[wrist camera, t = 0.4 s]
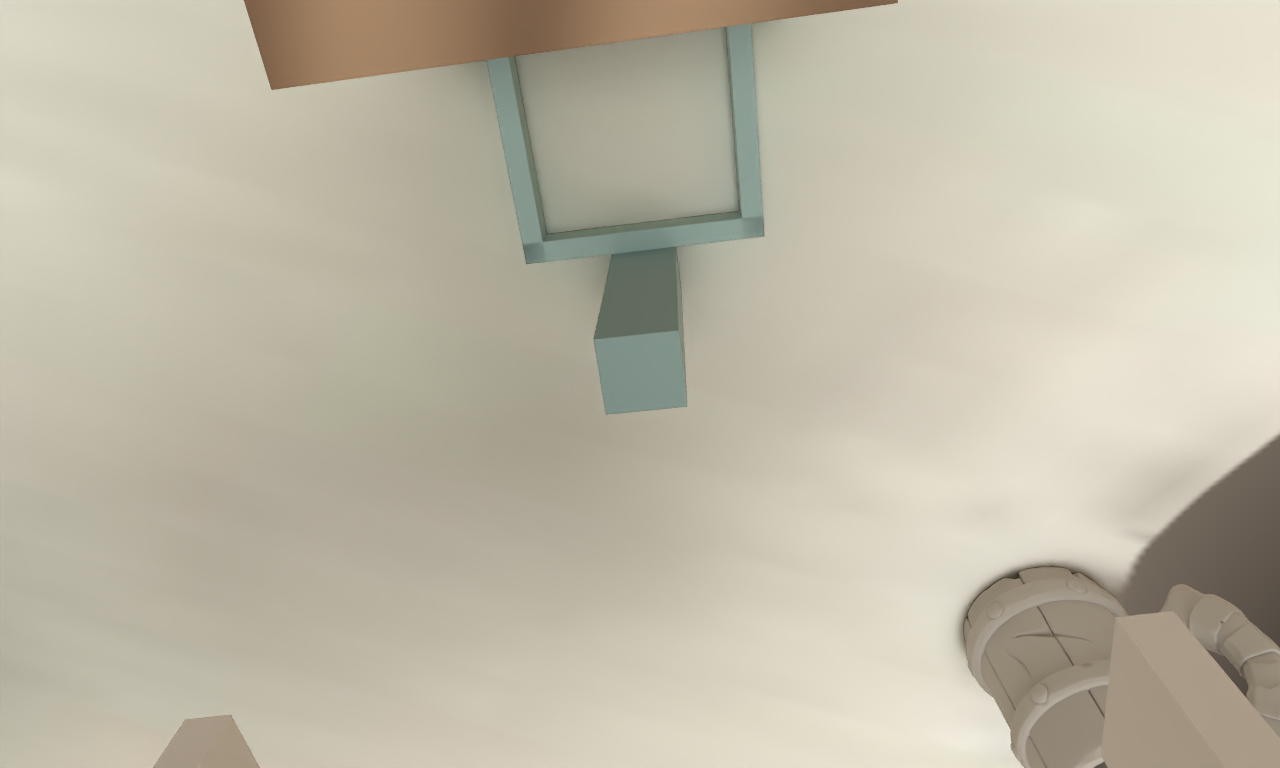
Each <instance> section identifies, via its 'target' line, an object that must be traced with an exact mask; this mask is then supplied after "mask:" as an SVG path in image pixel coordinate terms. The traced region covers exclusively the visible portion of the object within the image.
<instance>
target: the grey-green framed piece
mask: <svg viewBox="0 0 1280 768" xmlns="http://www.w3.org/2000/svg"><path fill="white" fill-rule="evenodd" d="M726 36H727V49H728V63H729V76H730V90H731V103H732V117H733V130H734V143H735V157H736V170H737V184H738V197H739V211H736V212H728V213H719V214H711V215H703V216H694V217H686V218H677V219H669V220H661V221H652V222H644V223H635V224H627V225H619V226H610V227H602V228H594V229H585V230H577V231H568V232H560V233H552V234H547V233H546V227H545V222H544V216H543V211H542V205H541V200H540V194H539V189H538V183H537V178H536V172H535V167H534V161H533V156H532V150H531V145H530V139H529V133H528V128H527V122H526V117H525V111H524V106H523V100H522V95H521V89H520V84H519V78H518V73H517V67H516V62H515V56H512V57H505V58H498V59H490V60H486V61H487V66H488V71H489V76H490V81H491V86H492V91H493V96H494V101H495V106H496V112H497V117H498V122H499V127H500V132H501V137H502V142H503V147H504V152H505V157H506V163H507V168H508V173H509V178H510V183H511V188H512V193H513V198H514V203H515V208H516V214H517V219H518V224H519V229H520V234H521V239H522V244H523V249H524V254H525V259H526V264H531V263H540V262H548V261H557V260H565V259H574V258H583V257H591V256H600V255H608V254H612V258H611V262H610V267H609V272H608V276H607V281H606V285H605V290H604V294H603V299H602V303H601V308H600V313H599V317H598V322H597V326H596V331H595V335H594V345H595V351H596V357H597V363H598V369H599V375H600V381H601V387H602V393H603V399H604V406H605V412H606V415H607V414H617V413H627V412H637V411H647V410H657V409H667V408H677V407H687V391H686V371H685V351H684V331H683V311H682V294H681V285H680V276H679V267H678V258H677V249H676V247H677V246H686V245H694V244H703V243H712V242H720V241H729V240H737V239H746V238H755V237H763V236H764V223H763V207H762V191H761V175H760V158H759V142H758V126H757V110H756V94H755V78H754V61H753V45H752V29H751V23H750V24H743V25H735V26H728V27H726Z"/></svg>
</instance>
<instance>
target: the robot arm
mask: <svg viewBox="0 0 1280 768" xmlns="http://www.w3.org/2000/svg"><path fill="white" fill-rule="evenodd" d="M1101 757H1102V758H1103V760H1104V762H1105V763H1106V765H1107V767H1108V768H1280V738H1279V737H1278V735H1277V734H1276V733H1275V732H1274V731H1273V729H1272V728H1271V727H1270V726H1269V725H1268V723H1267V722H1266V721H1265V720H1264V719H1263V717H1262V716H1261V715H1260V714H1259V713H1258V711H1257V710H1256V709H1255V708H1254V707H1253V706H1252V704H1251V703H1250V702H1249V701H1248V700H1247V698H1246V697H1245V696H1244V695H1243V694H1242V693H1241V691H1240V690H1239V689H1238V688H1237V686H1236V685H1235V684H1234V683H1233V682H1232V680H1231V679H1230V678H1229V677H1228V676H1227V675H1226V673H1225V672H1224V671H1223V670H1222V669H1221V667H1220V666H1219V665H1218V664H1217V663H1216V661H1215V660H1214V659H1213V658H1212V657H1211V655H1210V654H1209V653H1208V652H1207V651H1206V649H1205V648H1204V647H1203V646H1202V645H1201V644H1200V642H1199V641H1198V640H1197V639H1196V638H1195V636H1194V635H1193V634H1192V633H1191V632H1190V630H1189V629H1188V628H1187V627H1186V626H1185V624H1184V623H1183V622H1182V621H1181V620H1180V618H1179V617H1178V616H1177V615H1176V614H1175V612H1174V611H1169V612H1160V613H1151V614H1142V615H1133V616H1124V617H1115V623H1114V633H1113V642H1112V652H1111V662H1110V671H1109V681H1108V690H1107V700H1106V710H1105V719H1104V729H1103V738H1102V748H1101ZM153 768H260V767H259V765H258V763H257V761H256V760H255V758H254V756H253V754H252V752H251V750H250V749H249V747H248V745H247V743H246V741H245V739H244V738H243V736H242V734H241V732H240V730H239V729H238V727H237V725H236V723H235V721H234V719H233V718H232V716H231V715H224V716H215V717H206V718H197V719H187V720H185V721H184V722H183V724H182V725H181V727H180V728H179V730H178V731H177V733H176V734H175V736H174V737H173V739H172V740H171V742H170V743H169V745H168V746H167V748H166V749H165V751H164V752H163V754H162V755H161V757H160V758H159V760H158V761H157V763H156V764H155V765H154V767H153Z"/></svg>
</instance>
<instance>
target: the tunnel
mask: <svg viewBox="0 0 1280 768" xmlns="http://www.w3.org/2000/svg"><path fill="white" fill-rule="evenodd" d="M244 2H245V5H246V8H247V12H248V15H249V18H250V21H251V25H252V28H253V31H254V34H255V38H256V41H257V44H258V47H259V51H260V54H261V57H262V60H263V64H264V67H265V70H266V73H267V76H268V80H269V83H270V86H271V89H272V90H274V89H281V88H289V87H296V86H303V85H310V84H317V83H325V82H332V81H339V80H346V79H353V78H361V77H368V76H375V75H382V74H389V73H397V72H404V71H411V70H418V69H425V68H433V67H440V66H447V65H454V64H462V63H469V62H476V61H483V60H490V59H498V58H505V57H512V56H519V55H526V54H534V53H541V52H548V51H555V50H562V49H570V48H577V47H584V46H591V45H599V44H606V43H613V42H620V41H627V40H635V39H642V38H649V37H656V36H663V35H671V34H678V33H685V32H692V31H699V30H707V29H714V28H721V27H728V26H735V25H743V24H750V23H757V22H764V21H772V20H779V19H786V18H793V17H800V16H808V15H815V14H822V13H829V12H836V11H844V10H851V9H858V8H865V7H872V6H880V5H887V4H894V3H898V0H244Z"/></svg>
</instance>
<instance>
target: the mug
mask: <svg viewBox="0 0 1280 768" xmlns="http://www.w3.org/2000/svg"><path fill="white" fill-rule="evenodd" d="M1019 576H1020V578H1017V579H1010V578H1003V579H1001V580H999V581H998V582H996V583H994V584H993V585H992V586H991V587H990V588H988V589H987V590H985V591H984V592H983V593H982V594H980V595H979V596H978V598H977V599H976V600H975V601H974V602H973V604H972V606H971V608H970V610H969V612H968V618H966V619H965V622H964V637H965V641H966V655H967V660H968V667H969V669H970V672H971V673H972V675H973V676H974V677H975V678H976V680H977V682H978V683H979V685H980V686H981V687H982V688H983V689H984V690H985V691H986V692H987V693H988V694H989V695H991V696H992V697H993V698H994V699H995V701H996V703H997V705H998V707H999V709H1000V710H1001V712H1002V714H1003V716H1004V718H1005V720H1006V722H1007V724H1008V726H1009V728H1010V729H1011V741H1012V743H1011V749H1012V751H1013V753H1014V755H1015V756H1016V758H1017V759H1018V760H1019V761H1020V763H1021V765H1022V766H1023V767H1024V768H1108V767H1107V765H1106V763H1105V762H1104V760H1103V758H1102V757H1101V748H1102V738H1103V729H1104V719H1105V710H1106V700H1107V690H1108V681H1109V671H1110V662H1111V652H1112V642H1113V633H1114V623H1115V617H1124V616H1128V614H1127V612H1126V611H1125V609H1124V608H1123V607H1122V605H1121V604H1120V603H1119V602H1118V601H1117V600H1116V599H1115V598H1114V597H1113V596H1112V595H1111V594H1110V593H1108V592H1107V591H1106V590H1104V589H1102V588H1100V587H1099V586H1098V585H1097V584H1096V583H1095V582H1094V581H1092V580H1091V579H1088V578H1087V577H1086V576H1084V575H1083V574H1081V573H1079V572H1077V573H1075V574H1071V573H1070V571H1069V570H1068V569H1066V568H1060V567H1039V568H1030V569H1025V570H1022V571H1020V572H1019ZM1169 611H1174V612H1175V614H1176V615H1177V616H1178V617H1179V618H1180V620H1181V621H1182V622H1183V623H1184V624H1185V626H1186V627H1187V628H1188V629H1189V630H1190V632H1191V633H1192V634H1193V635H1194V636H1195V638H1196V639H1197V640H1198V641H1199V642H1200V644H1201V645H1202V646H1203V647H1204V648H1205V649H1207V650H1210V651H1213V652H1215V653H1217V654H1219V655H1225V656H1226V657H1227V658H1228V660H1229V661H1230V662H1231V663H1232V664H1233V665H1234V666H1235V667H1236V669H1237V670H1238V671H1239V673H1240V675H1241V676H1242V677H1243V678H1245V679H1246V680H1247V683H1248V688H1249V690H1248V691H1247V700H1248V701H1249V702H1250V703H1251V704H1252V706H1253V707H1254V708H1255V709H1256V710H1257V711H1258V713H1259V714H1260V715H1261V716H1262V717H1263V719H1264V720H1265V721H1266V722H1267V723H1268V725H1269V726H1270V727H1271V728H1272V729H1273V731H1274V732H1275V733H1276V734H1277V735H1278V737H1279V738H1280V648H1279V647H1278V646H1277V645H1276V644H1275V643H1274V642H1273V641H1272V640H1271V639H1270V638H1269V637H1267V636H1266V635H1265V634H1264V633H1262V632H1261V631H1260V630H1259V629H1258V628H1257V627H1256V626H1255V625H1254V624H1252V623H1251V622H1250V621H1248V619H1247V618H1246V616H1245V615H1244V614H1243V612H1241V611H1240V610H1239V609H1238V608H1237V607H1235V606H1234V605H1233V604H1231V603H1230V602H1228V601H1226V600H1224V599H1222V598H1220V597H1218V596H1216V595H1214V594H1207V595H1204V594H1202V593H1201V592H1199V591H1197V590H1195V589H1192V588H1191V587H1189V586H1187V585H1185V584H1179V585H1175V586H1173V587H1172V588H1171V590H1170V592H1169V594H1168V597H1167V599H1166V602H1165V604H1164V606H1163V608H1162V609H1161V611H1160V612H1169ZM1160 612H1159V613H1160Z"/></svg>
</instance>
